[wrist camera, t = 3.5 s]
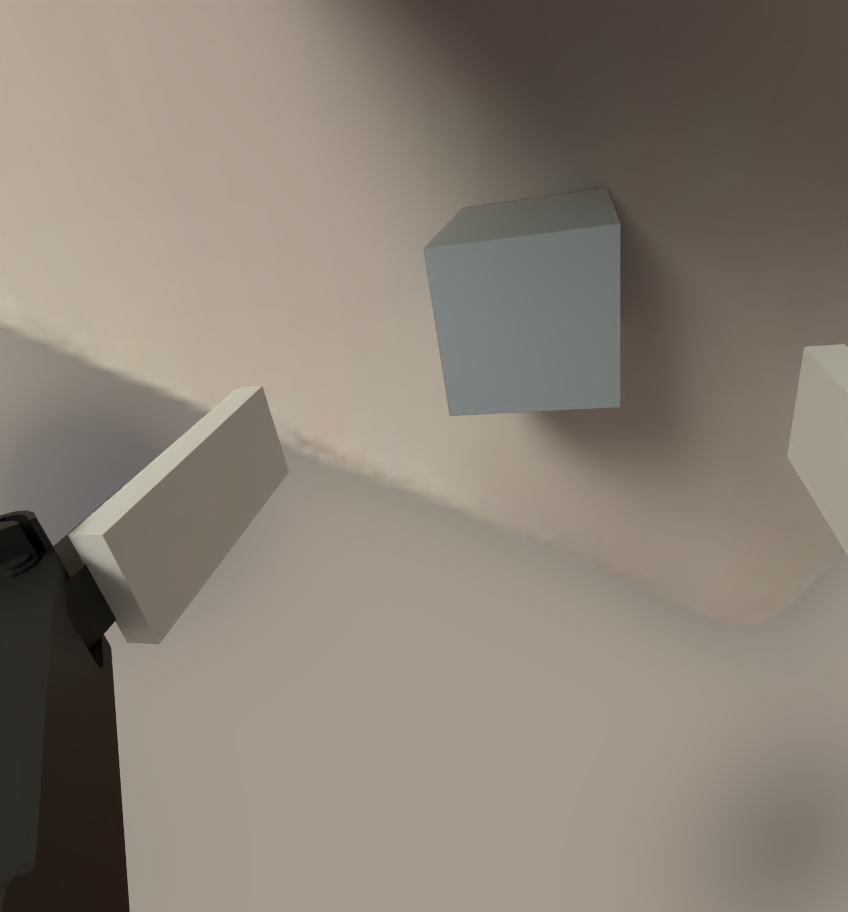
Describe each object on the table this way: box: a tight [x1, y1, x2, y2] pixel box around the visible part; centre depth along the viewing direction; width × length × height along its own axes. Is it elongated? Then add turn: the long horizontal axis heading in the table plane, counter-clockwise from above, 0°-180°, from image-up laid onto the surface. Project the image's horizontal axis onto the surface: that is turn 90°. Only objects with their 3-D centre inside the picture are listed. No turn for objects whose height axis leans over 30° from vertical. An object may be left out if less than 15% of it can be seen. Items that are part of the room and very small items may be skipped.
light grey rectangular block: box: [424, 188, 620, 416], centre depth 23 cm, size 6×6×8 cm
